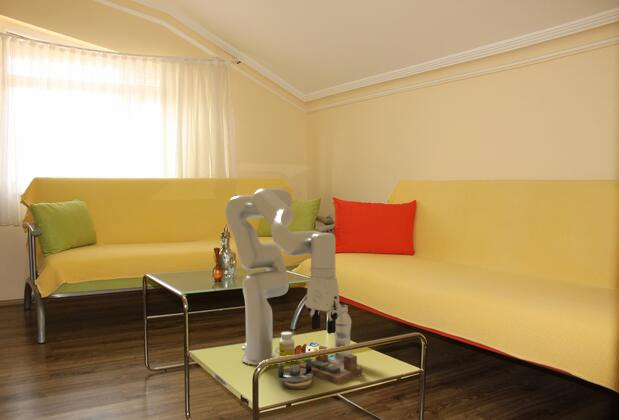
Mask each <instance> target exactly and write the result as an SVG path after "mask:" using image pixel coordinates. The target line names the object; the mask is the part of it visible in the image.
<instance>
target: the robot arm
mask: <svg viewBox="0 0 619 420" xmlns="http://www.w3.org/2000/svg"><path fill="white" fill-rule="evenodd" d="M292 205H293V197H292V194H291V193H290V191H288V190H287V189H285V188H279V187H273V188H272V187H271V188H269V187H268V188H267V187H266V188H265V187H264V188H259V189H258V190H256V191H255V192H254V193H253V194H249V195H248V194H242V195H241V194H240V195H236V196H233V197H231V198H229V200H228V201H227V203H226V205H225V206H226V207H225V218H226V219H225V220H226V221H227V224H228V227H229V229H230V231H231V233H232V236H233V238H234V243H235V248H236V250H237V255H238V258H239V262H240V265H241V267H242V268H243V270H247V271H255V270H262V269H266V270H264V271H258V272H257V271H256V272H253V273H249V274H248V275H246V276H245V277H244V278H243V281H242V294H243V297H244V304H245V305H244V307H245V344H244V346H241V351H243V352H244V355H242V357H241V362H242V361H243V362H245V363H248V364H247V365H249V364H257V365H256V366H259V365H258V364H259V363H260V362H262V361H263V360H266V359H270V358H274V357H277V358H278V355H277V354H276V353H273V352H274V350H273V349H274V348H273V345H274V342H273V340H274V339H273V310H272V306H271V305H270V303H269V302H268V299H270V298H274V297H281V296H283V295H285V294H286V293H287V292H288V290H289V289H290V288H289V287H290V280H289V279H290V278H289V275H288V272H287V267H286V265H285V262H284V261H285V260H284V258H283V257H284V256H283V254H286V255H287V256H291V257H296V256H297V257H298V256H305V255H306V256H307V255H310V261H311V262H310V265H311V266H310V268H309V271H310V276H309V277H308V278H309V279H308V280H307V281H308V283H307V291H306V300H305V302H304V305H305V307H306V308H307V310H308V312H309V316H310V317H311V330H313V331H315V330H318V329H320V328H321V315H320V314H319V313H320V312H325V313H326V314H327V318H328V320H327V321H326V322H327V323H326V327H327V328H326V333H327V334H329V335H330V334H333V333H334V332H336V319H337V318H338V316H339V315H340V314H341V313H342V312H343V308H342V307H341V305H342V304H341V303H340V294H339V293H340V292H339V290H340V289H339V283H338V279H337V277H336V236H335V235H334V234H333V233H332V232H321V231H318V230H302V231H301V230H300V231H291V230H290V229H289V228H288V226H290V224H291V223H292V221H293V219H294V211H293V209H292ZM256 218H257V219H258V218H259V219H261V218H264V219H265V220H266V221H267V222H268V223H269V224H270V225H271V228H270V229H271V230H270V232H271V237H272V240H273V242H261V241H260V240H259V237H258V233H257V230H256V228H255V227H254V226H253V224H251V223H250V221H249V220H248V219H256ZM282 252H283V254H282ZM245 363H244V364H245Z"/></svg>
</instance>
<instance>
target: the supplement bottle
mask: <svg viewBox="0 0 619 420" xmlns="http://www.w3.org/2000/svg"><path fill="white" fill-rule="evenodd" d="M280 336H281V338H280V340H279V342H278V344H279V345H278V346H279V357H280V356H286V355H293V354H295V340H294V338H293V332H291V331H282V332H280Z"/></svg>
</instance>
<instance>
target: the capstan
mask: <svg viewBox="0 0 619 420" xmlns="http://www.w3.org/2000/svg"><path fill="white" fill-rule="evenodd" d="M311 360H312V359H310V358H308V359H307V358H306V359H305V362H306V369H304V368H300V366H299V364H291V365H290V366H289V367H288V368H285V367H284V366H285V365H284V364H282V363H281V364H277V372H276V379H277V380H278V381H279V382H282V383H283V385H284V387H286V388H287V389H291V390H305V389H308V388H310V387H312V386H313V383H314V379H313V378H314V376H313V372H312V364H311Z"/></svg>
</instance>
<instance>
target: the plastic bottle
mask: <svg viewBox="0 0 619 420" xmlns="http://www.w3.org/2000/svg"><path fill="white" fill-rule="evenodd" d="M340 305H341V307H342V308H343V312H342V313H341V314H340V315H339V316H338V318H337V319H336V332H334V344H333V345H334V347H340V346H345V345H349V344H351V329H352V318H351V316H350V315H349V313H348V312H349V311H348V310H349V309H348V305H345V304H340ZM348 354H352V355H353V352H352V349H351V350H350V351H345V352H340V353H336V354H332V356H333V360H335V361H338V362H342V363H344V356H345V355H348Z"/></svg>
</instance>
